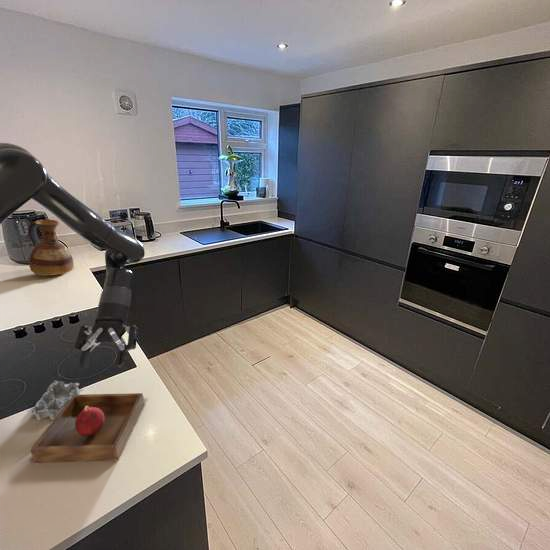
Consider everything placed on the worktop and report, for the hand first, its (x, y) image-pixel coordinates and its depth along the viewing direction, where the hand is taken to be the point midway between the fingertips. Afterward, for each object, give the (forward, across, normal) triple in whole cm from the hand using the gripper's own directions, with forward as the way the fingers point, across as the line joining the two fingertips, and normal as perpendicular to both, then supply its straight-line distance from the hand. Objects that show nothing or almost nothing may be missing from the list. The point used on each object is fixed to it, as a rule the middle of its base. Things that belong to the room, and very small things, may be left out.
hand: (101, 366), depth 72 cm
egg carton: (+9, -14, +10) cm, 19 cm away
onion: (+15, 0, +3) cm, 15 cm away
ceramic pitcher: (-60, -76, +78) cm, 124 cm away
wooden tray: (+14, 0, +4) cm, 15 cm away
